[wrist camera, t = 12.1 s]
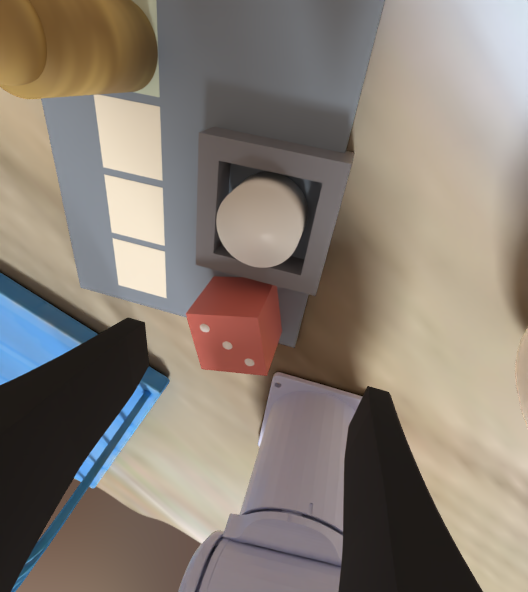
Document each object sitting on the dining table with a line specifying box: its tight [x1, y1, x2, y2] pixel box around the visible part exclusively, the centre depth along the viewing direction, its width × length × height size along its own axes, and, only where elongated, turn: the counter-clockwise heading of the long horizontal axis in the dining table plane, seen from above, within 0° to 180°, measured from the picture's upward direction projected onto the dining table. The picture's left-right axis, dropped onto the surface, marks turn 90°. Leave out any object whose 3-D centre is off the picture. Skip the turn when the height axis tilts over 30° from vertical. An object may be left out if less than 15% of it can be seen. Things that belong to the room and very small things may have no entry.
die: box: [186, 276, 282, 376], centre depth 20 cm, size 4×4×4 cm
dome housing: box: [195, 127, 354, 296], centre depth 18 cm, size 7×7×2 cm
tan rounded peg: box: [0, 0, 158, 99], centre depth 13 cm, size 4×4×8 cm
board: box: [41, 0, 385, 348], centre depth 19 cm, size 18×16×1 cm
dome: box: [216, 172, 308, 268], centre depth 17 cm, size 4×4×2 cm
